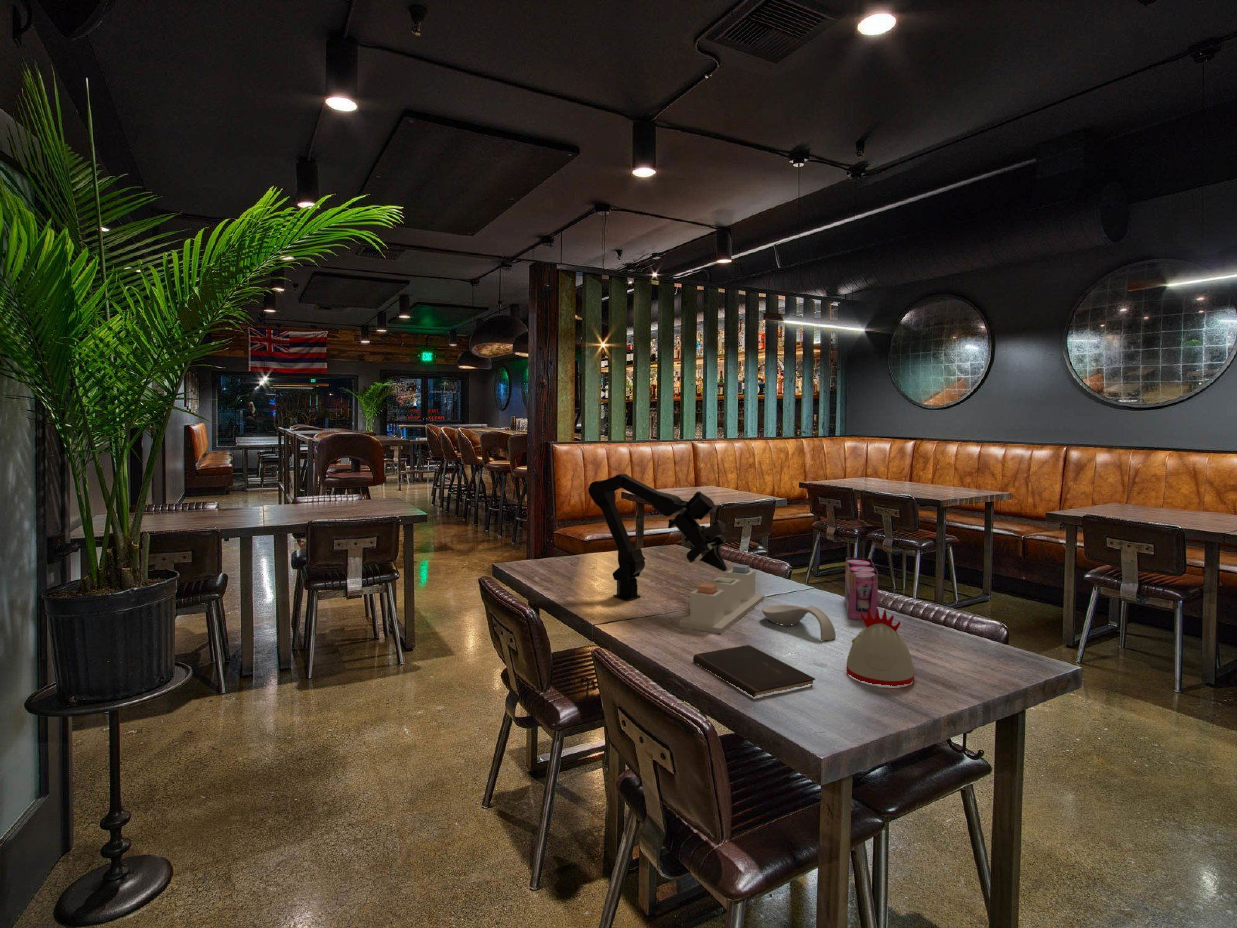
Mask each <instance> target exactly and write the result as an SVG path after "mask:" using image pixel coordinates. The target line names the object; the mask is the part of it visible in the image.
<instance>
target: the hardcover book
mask: <svg viewBox="0 0 1237 928" xmlns="http://www.w3.org/2000/svg"><path fill="white" fill-rule="evenodd" d="M693 661H694V662H695V663H694V662H693ZM692 662H693V663H694V664H696V663H698V664H699V665H700V666H702V667H704V668H705V669H707V670H709V671H711V672H712V673H714V674H716V675H717V676H719V677H721V678H722V679H724V680H725V681H728V682H729V683H731V684H733V685H735V686H736V687H739V688H740V689H742V690H743V691H746V692H747V693H748V694H750V695H752V696H753V697H755V696H757V695H761V694H766V693H771V692H774V691H782V690H787V689H791V688H794V687H802V686H805V685H808V684H813V685H814V681H816V678H815V677H814V676H811V675H810V674H807V673H806V672H804V671H801V670H799V669H797V668H796V667H794V666H791V665H789V664H787V663H785V662H783V661H781V660H780V659H778V658H776V657H773V656H772V655H770V654H768V653H765V652H764V651H762V650H759V649H758V648H756V647H754V646H752V645H750V644H747V645H740V646H735V647H728V648H723V649H717V650H714V651H713V650H712V651H707V652H702V653H700V652H699V653H696V654H694V655H693V657H692ZM699 665H698V666H699ZM700 666H699V667H700ZM702 667H701V668H702ZM704 668H703V669H704ZM705 669H704V670H705ZM707 670H706V671H707ZM712 673H711V674H712Z"/></svg>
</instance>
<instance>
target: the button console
mask: <svg viewBox="0 0 1237 928" xmlns="http://www.w3.org/2000/svg"><path fill="white" fill-rule="evenodd" d="M725 572H726V574H725V575H726V577H725V578H726V579H734V582H732V583H731V584H729V583H722V582H716V581H717V580H718V579H720V578H724V577H722V576H717V577H716V578H714V579H712V580H711V581H709V584H715V585H717V592H716V593H715V594H713V595H711V594H704V593H698V588H696V589H694V590H693V591H691V592H690V596H689V597H690V599H689V600H690V607H689V608H690V609H689V610H690V612H689V613H690V614H689V615H687V616H686V617H684V618H683V619H681V620H680V621H679V628H683V629H687V630H688V629H689V630H694V629H698V630H697V631H700V630H703V631H702V632H706V631H708V633H711V632H712V633H713V634H717V633H722V634H723V633H725V632H726V631H727V630H728V629H730V628H731V627H732V626H734V625H735V624H736V623H737V622H738V621H740V620H741V619H742V618H744V617H745V616H746V615H748V613H747V612H749V611H750V610H751V609H752V610H754V609H755V608H756V607H757V606H759V605H760V604H761V603H763V602H764V601H765V595H762V594H756V570H754V569H749V573H747V574H743V573H734V572H733V568H732V569H730V570H728V571H725ZM763 600H764V601H763ZM762 601H763V602H762ZM760 602H761V603H760ZM759 603H760V604H759ZM758 604H759V605H758ZM756 605H757V606H756ZM755 606H756V607H755ZM754 607H755V608H754ZM753 608H754V609H753ZM752 610H751V611H752ZM751 611H750V612H751ZM750 612H749V613H750ZM743 616H744V617H743ZM740 618H741V619H740ZM739 619H740V620H739ZM735 622H736V623H735ZM734 623H735V624H734ZM730 626H731V627H730ZM729 627H730V628H729ZM726 629H727V630H726ZM725 630H726V631H725ZM724 631H725V632H724ZM712 633H711V634H712Z"/></svg>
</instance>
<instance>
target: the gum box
mask: <svg viewBox="0 0 1237 928" xmlns="http://www.w3.org/2000/svg"><path fill="white" fill-rule="evenodd" d="M878 573H879V571H878V570H877V568H876V567H875V565H874V562H873V560H872V558H866V557H865V558H863V557H848V556H847V557H846V558H845V573H844V574H845V575H844V577H845V578H844V579H845V580H844V581H845V582H844V583H845V584H844V585H845V587H844V591H845V592H844V601H846V602H845V608H846V612H848V614H847V618H849V619H848V620H856V619H862V617H861V613H862V614H863V616H864V617H865V618H867V615H868V608H869V609H870V612H871V616H872V617H873V618H875V615H876V611H877V609H878V595H879V594H878V591H879V590H878V589H879V585H878V584H879V574H878Z"/></svg>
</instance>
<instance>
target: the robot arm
mask: <svg viewBox="0 0 1237 928" xmlns="http://www.w3.org/2000/svg"><path fill="white" fill-rule="evenodd" d="M620 489H623V490H625V491H626V492H629V493H631V494H632V495H634V496H636V497H638V498H640V499H642V500H643V501H645V502H648V503H649V504H650V505H651V506H652V507H653V509H654V510H655V511H657V512H658V513H660V514H661V515H662V516H665V517H671V516H674V515H676V516H675V517H674V518H669V519H668V525H667V528H668V529H672V528H675V527H676V528H677V530H678V531H679V532H680V533H681V534H682V536H684V539H683V540H684V542H685V543H689V544H690V545H691V546H692V548H691V549H690V550H689V551H688V552H687V553H686V559H687V560H688V562H689V563H690V564H691V563H694V562H695V561H696V559H697V558H699V556H700V555H701V558H700V559H699V562H703V563H705V564H708V565H710V566H712V567H714V568H715V569H718V570H720V571H722V572H727V570H728V567H727V565H726V563H725V561H724V559H723V557H722V554H721V547H722V545H723V544H725V542H726V541H727V538H726V537H725V536H724V535H722V534H725V533H727V530H726V527H727V525H726V524H725V523H724V522H723V521H721V520H720V519H718V520H715V521H713V522H712V525H711V526H708V527H706V526H705V525H700V524H699V522H697V520H701V521H702V520H703V519H704V518H705V517H706V516H707V515H708V514H710V512H711V511H712V510H713V509H714V508H716V504H715V502H714V501H713V500H712V498H710V497H708V496H707V495H705V494H704V493H703V492H701V491H696V492H695V493H694V494H693V496H692V497H691V498H690V499H689V500H688V501H687V500H683V499H682V497H679V496H678V495H674V494H671V493H668V492H662V491H659V490H657V489H655V488H652V487H650V486H649V485H648V484H645V483H644V482H641V481H639V480H638V479H635V478H634V477H631V476H630V475H628V474H627V473H619V474H616V475H615V476H613V477H610V478H607V479H601V480H594V481H592V482H591V483H590V484H589V486H588V488H587V491H588V495H589V496H590V498H591V500H592V501H593V503H594V504H595V505H596V506H597V507H598V508H599V509H600V510H601V512H602V514H603V515H602V516H603V518H604V519H605V522H606V524H607V527H608V529H609V532H610V535H611V537H612V539H613V542H614V544H615V547H616V548H617V563H618V567H617V569H616V570H615V571H614V572H612V576H613V580H614V581H616V594H613V595H612V597H613V598H615V599H620V600H623V601H629V600H635V599H639V598H641V595H639V594H638V579H637V578H639V577H640V575H641V572H642V571H643V570H644V569H645V566H646V562H645V560H646V558H645V556H644V555H643V551H642V548H640V547H637V548H636V547H635V546H634V544H632V541H631V538H630V536H629V535H628V532H627V529H626V527H625V525H624V521H623V520H622V518H621V515H620V512H619V510H618V507H617V505H616V491H618V490H620ZM682 511H684V512H683V513H681V512H682Z"/></svg>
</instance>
